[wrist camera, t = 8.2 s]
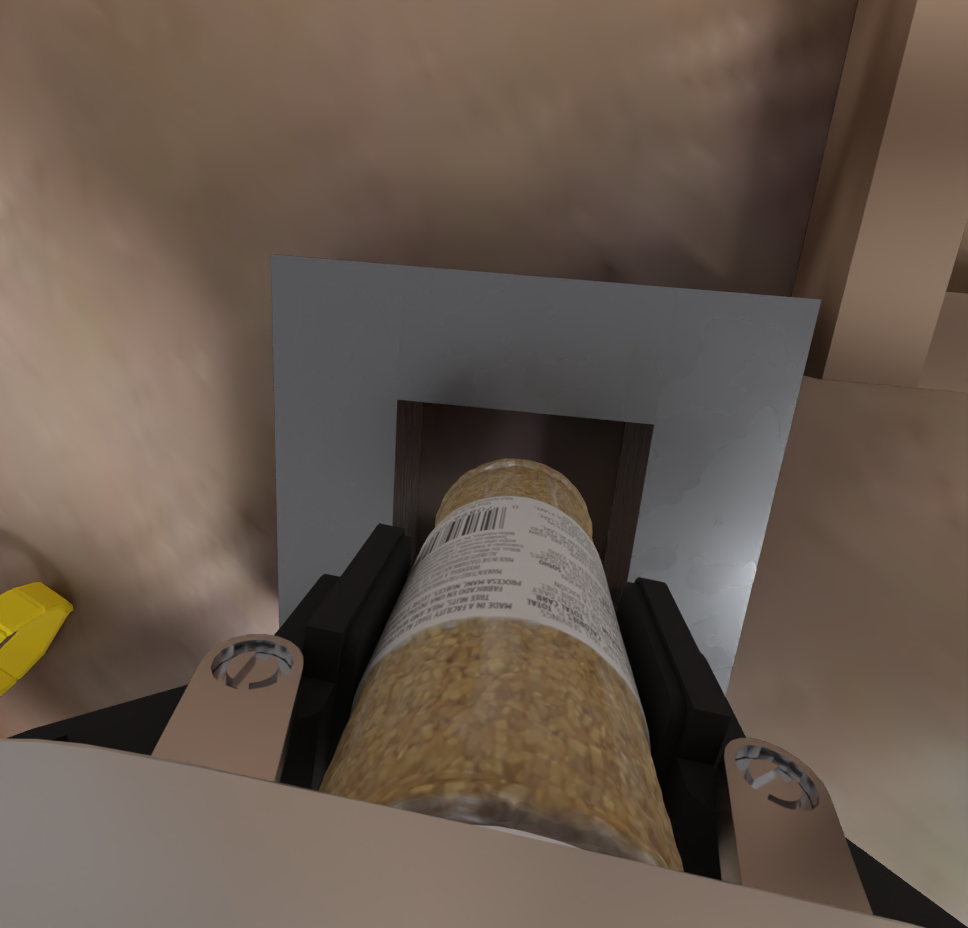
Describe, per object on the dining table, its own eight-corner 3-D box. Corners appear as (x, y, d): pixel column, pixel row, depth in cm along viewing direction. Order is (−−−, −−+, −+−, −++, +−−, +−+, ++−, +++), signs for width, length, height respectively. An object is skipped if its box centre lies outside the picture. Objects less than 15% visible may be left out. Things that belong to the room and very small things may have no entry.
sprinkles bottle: (463, 612, 17) (243, 1598, 4) (416, 475, 16) (-101, 1211, 3) (610, 578, 16) (928, 1639, 3) (571, 432, 15) (809, 1153, 2)
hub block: (678, 678, 21) (710, 759, 17) (324, 634, 22) (281, 703, 18) (757, 302, 17) (821, 299, 14) (325, 266, 18) (270, 254, 14)
